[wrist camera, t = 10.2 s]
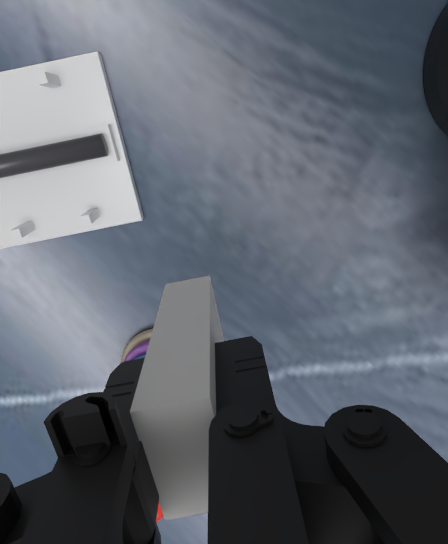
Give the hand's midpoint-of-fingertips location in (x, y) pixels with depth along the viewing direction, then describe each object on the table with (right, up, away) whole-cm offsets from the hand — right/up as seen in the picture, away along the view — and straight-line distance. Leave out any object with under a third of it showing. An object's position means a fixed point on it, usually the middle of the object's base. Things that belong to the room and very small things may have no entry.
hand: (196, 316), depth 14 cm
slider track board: (-21, +11, +23) cm, 33 cm away
